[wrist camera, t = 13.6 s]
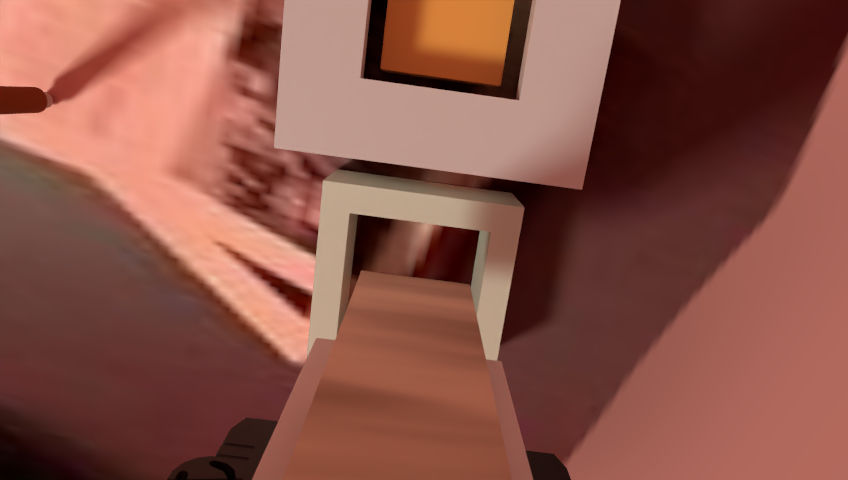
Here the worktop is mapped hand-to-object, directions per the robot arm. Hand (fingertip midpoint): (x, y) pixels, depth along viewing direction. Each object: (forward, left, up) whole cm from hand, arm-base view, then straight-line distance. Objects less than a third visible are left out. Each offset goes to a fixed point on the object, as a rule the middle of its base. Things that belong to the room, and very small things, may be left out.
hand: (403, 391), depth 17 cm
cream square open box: (0, 0, -14) cm, 14 cm away
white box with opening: (+12, 0, -14) cm, 18 cm away
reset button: (+12, 0, -12) cm, 17 cm away
